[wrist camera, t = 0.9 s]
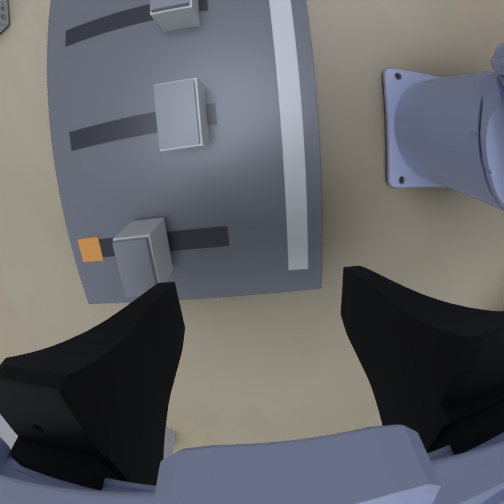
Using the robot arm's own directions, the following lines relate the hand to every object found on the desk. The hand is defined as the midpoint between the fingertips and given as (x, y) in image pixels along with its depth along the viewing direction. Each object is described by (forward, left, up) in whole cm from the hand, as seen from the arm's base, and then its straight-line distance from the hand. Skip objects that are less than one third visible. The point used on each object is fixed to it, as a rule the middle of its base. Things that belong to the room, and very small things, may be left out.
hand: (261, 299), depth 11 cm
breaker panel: (+4, -7, -9) cm, 12 cm away
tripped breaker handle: (+6, 0, -7) cm, 9 cm away
